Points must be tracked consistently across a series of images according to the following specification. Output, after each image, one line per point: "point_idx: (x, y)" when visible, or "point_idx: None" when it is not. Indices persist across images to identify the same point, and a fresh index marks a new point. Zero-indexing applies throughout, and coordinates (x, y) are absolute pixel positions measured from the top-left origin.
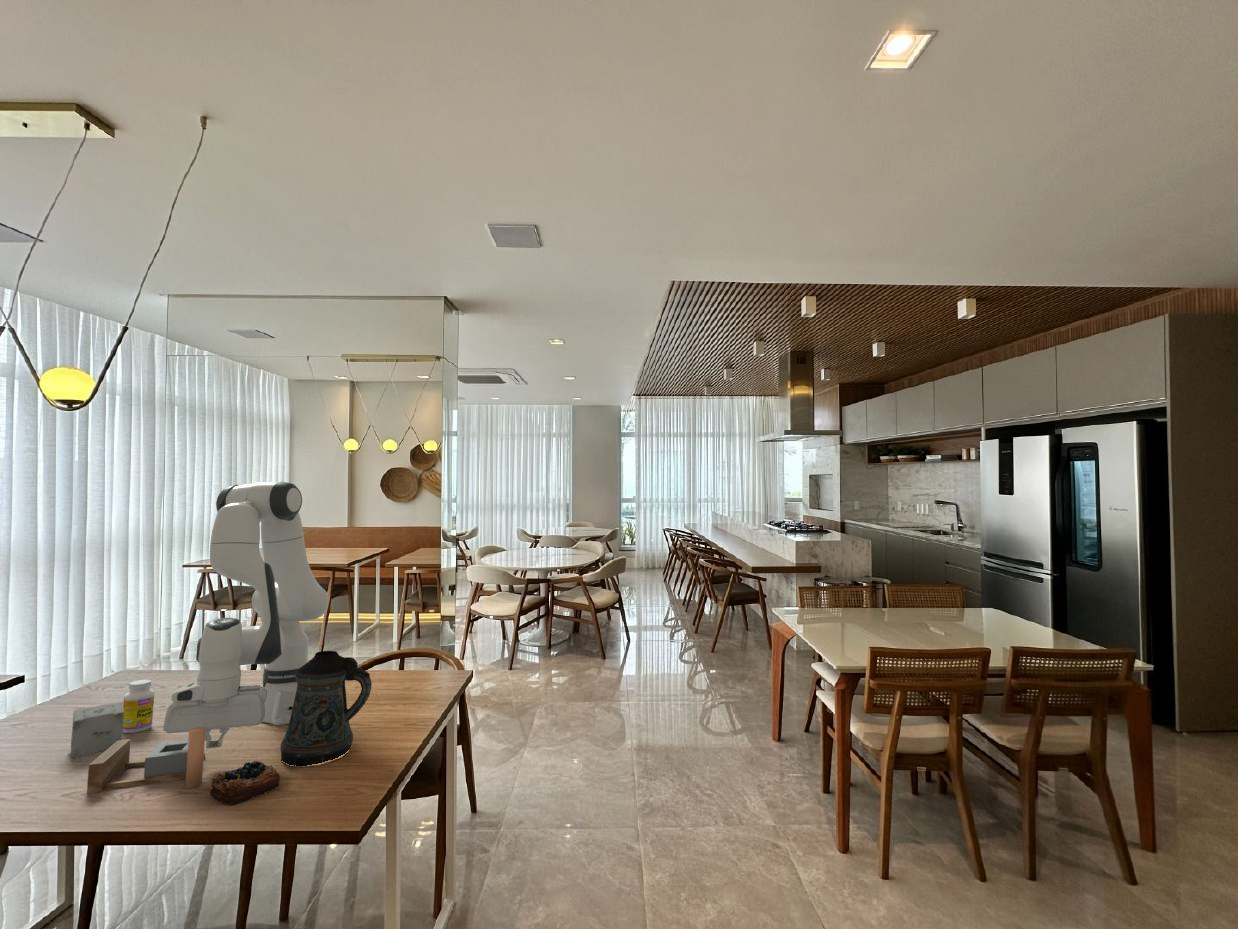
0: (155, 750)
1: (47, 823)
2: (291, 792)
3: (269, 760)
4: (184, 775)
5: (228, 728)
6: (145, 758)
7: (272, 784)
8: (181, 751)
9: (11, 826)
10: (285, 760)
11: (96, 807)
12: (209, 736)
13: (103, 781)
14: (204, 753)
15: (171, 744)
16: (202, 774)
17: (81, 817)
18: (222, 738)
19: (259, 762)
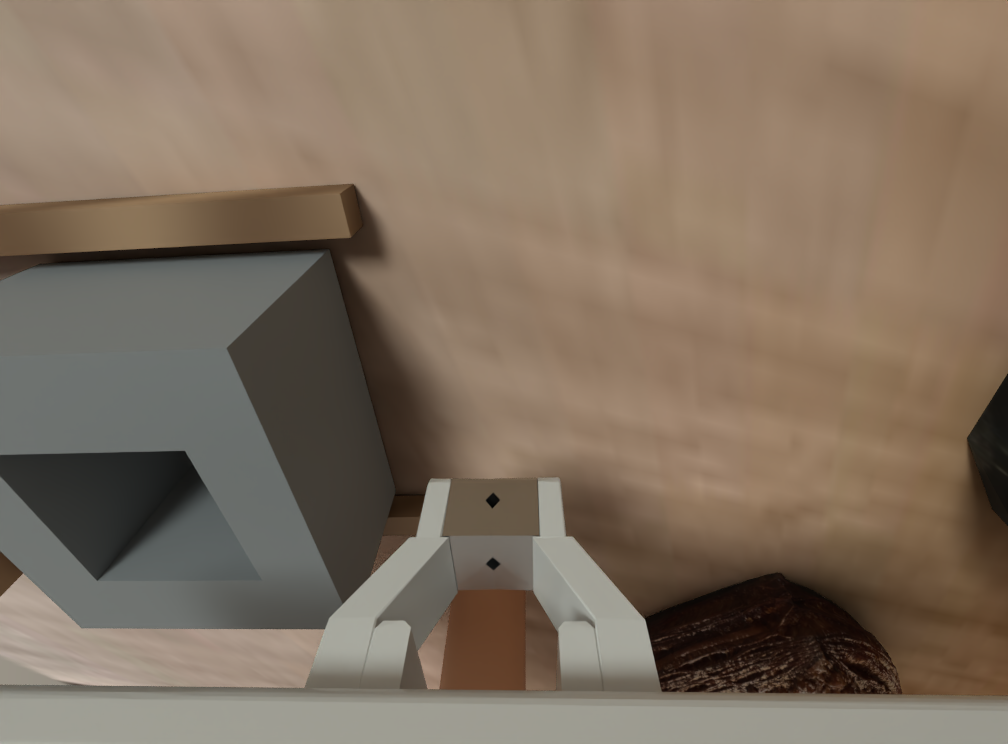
0: (7, 537)
1: (122, 670)
2: (902, 693)
3: (898, 395)
4: (401, 531)
5: (648, 652)
6: (84, 623)
7: None
8: (280, 600)
9: (16, 661)
10: (1000, 507)
11: (190, 630)
12: (425, 590)
13: (10, 562)
14: (337, 203)
15: (20, 448)
16: (524, 618)
17: (204, 666)
18: (565, 539)
19: (841, 687)
